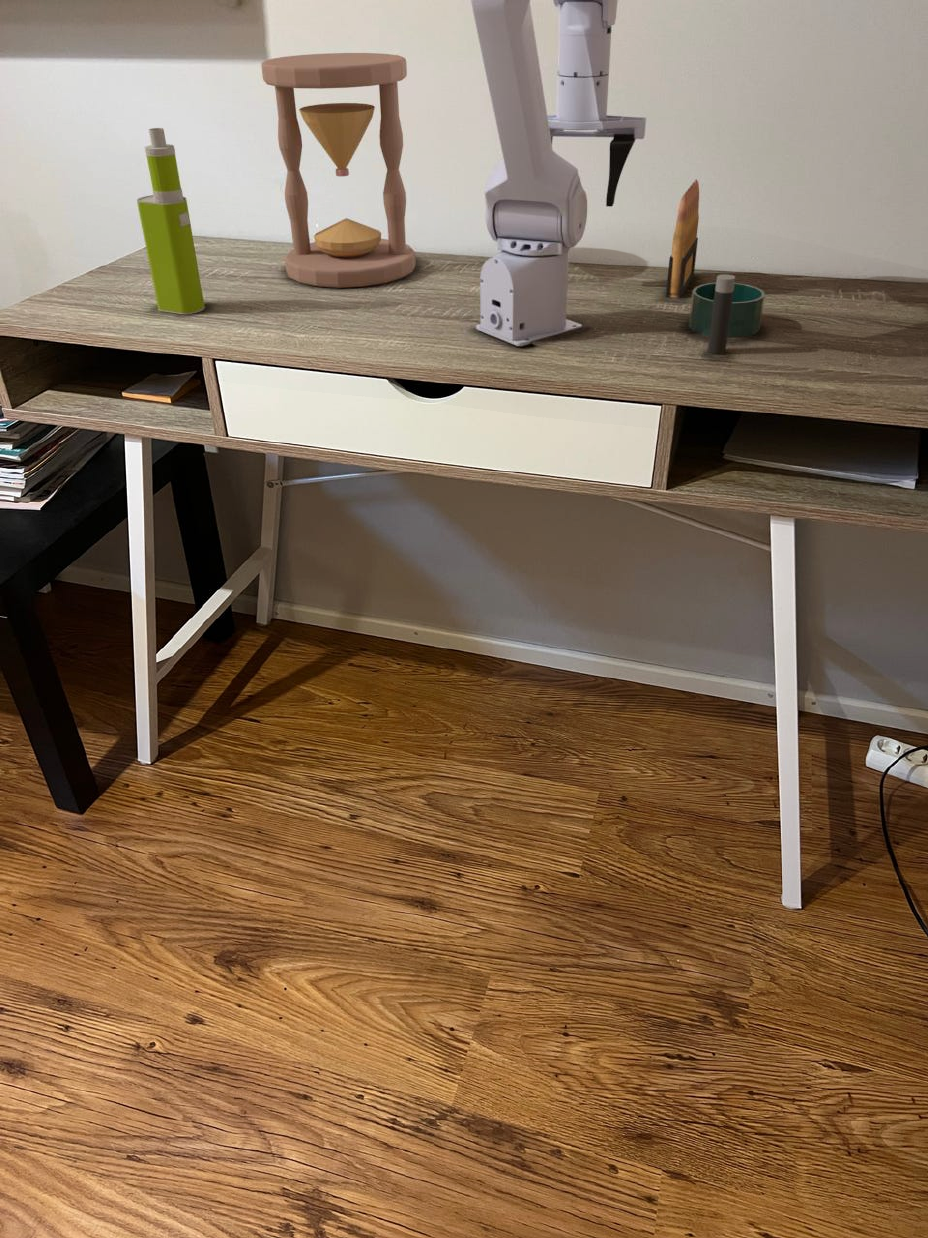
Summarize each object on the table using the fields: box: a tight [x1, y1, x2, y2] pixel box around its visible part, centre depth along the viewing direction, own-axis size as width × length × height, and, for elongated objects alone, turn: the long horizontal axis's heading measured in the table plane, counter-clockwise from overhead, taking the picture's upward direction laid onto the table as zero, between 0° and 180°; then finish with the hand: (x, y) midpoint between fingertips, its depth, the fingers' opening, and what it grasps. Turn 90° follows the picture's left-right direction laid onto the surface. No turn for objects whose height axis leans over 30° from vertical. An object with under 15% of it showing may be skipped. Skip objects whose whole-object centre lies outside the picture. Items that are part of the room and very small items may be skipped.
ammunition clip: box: [665, 179, 700, 299], centre depth 119 cm, size 11×2×12 cm, turn 160°
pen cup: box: [688, 282, 766, 339], centre depth 108 cm, size 8×8×4 cm
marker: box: [707, 273, 736, 356], centre depth 100 cm, size 2×2×8 cm
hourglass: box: [260, 52, 417, 289], centre depth 126 cm, size 18×18×25 cm
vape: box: [136, 127, 206, 315], centre depth 114 cm, size 4×6×20 cm, turn 64°
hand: (577, 203), depth 116 cm, fingers open, 7 cm apart
